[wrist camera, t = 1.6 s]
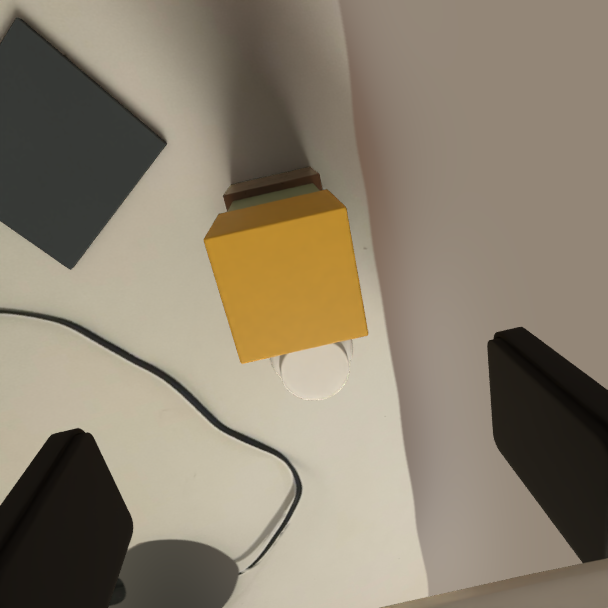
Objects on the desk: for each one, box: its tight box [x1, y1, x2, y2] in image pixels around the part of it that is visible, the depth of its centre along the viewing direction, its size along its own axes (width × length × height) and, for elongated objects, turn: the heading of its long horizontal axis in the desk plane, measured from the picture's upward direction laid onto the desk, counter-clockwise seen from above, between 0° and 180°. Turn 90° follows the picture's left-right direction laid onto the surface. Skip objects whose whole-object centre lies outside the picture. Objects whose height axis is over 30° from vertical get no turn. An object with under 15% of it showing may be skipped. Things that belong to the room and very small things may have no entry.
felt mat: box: [0, 17, 167, 270], centre depth 33 cm, size 13×12×1 cm
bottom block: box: [223, 167, 322, 212], centre depth 33 cm, size 6×6×6 cm
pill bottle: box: [270, 339, 353, 400], centre depth 34 cm, size 6×6×11 cm
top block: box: [204, 189, 368, 364], centre depth 22 cm, size 6×6×6 cm
